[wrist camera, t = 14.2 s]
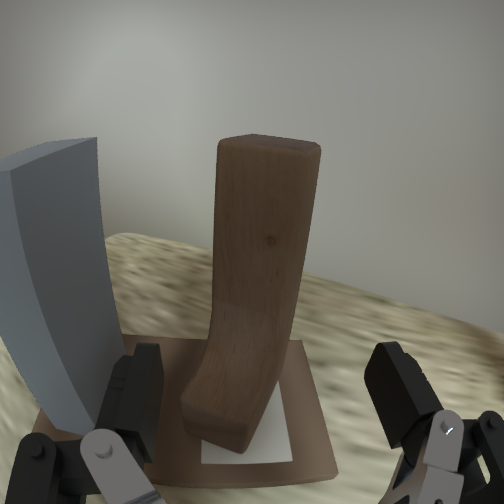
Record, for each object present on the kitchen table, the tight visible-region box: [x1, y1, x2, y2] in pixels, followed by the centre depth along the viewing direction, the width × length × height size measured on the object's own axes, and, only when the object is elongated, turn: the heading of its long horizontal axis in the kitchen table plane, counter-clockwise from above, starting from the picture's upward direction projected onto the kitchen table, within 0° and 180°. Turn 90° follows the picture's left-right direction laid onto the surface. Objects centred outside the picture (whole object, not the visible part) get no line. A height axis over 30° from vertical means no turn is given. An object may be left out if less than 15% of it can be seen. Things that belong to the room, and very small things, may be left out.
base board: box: [32, 334, 339, 488], centre depth 21 cm, size 22×14×1 cm, turn 94°
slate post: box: [0, 137, 126, 436], centre depth 16 cm, size 4×9×18 cm, turn 4°
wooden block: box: [179, 134, 321, 454], centre depth 17 cm, size 9×4×18 cm, turn 159°
